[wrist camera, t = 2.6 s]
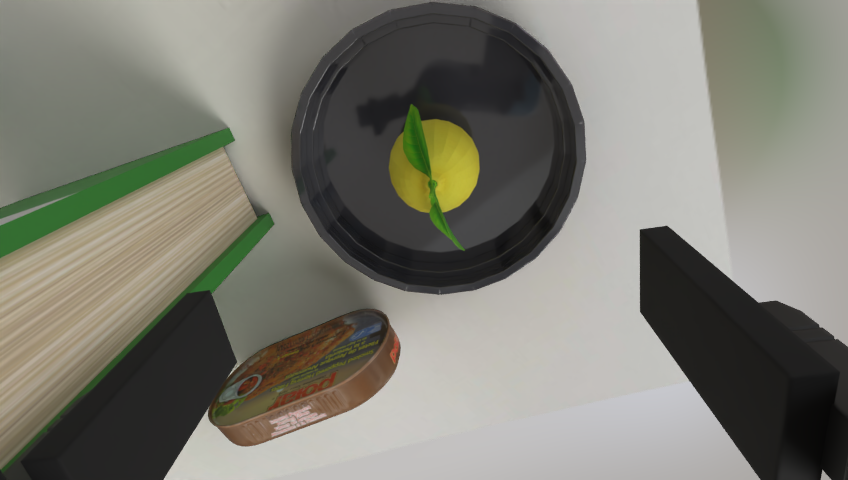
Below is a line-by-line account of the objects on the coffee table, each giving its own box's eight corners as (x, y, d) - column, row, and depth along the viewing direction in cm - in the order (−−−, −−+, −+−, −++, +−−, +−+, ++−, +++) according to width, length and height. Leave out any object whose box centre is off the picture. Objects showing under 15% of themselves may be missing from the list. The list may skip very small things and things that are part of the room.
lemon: (461, 212, 35) (467, 275, 26) (382, 186, 34) (359, 241, 25) (496, 120, 32) (516, 154, 23) (411, 91, 32) (397, 114, 23)
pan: (563, -20, 30) (577, -26, 26) (578, 254, 36) (591, 275, 33) (274, 35, 31) (254, 35, 28) (339, 286, 38) (330, 309, 35)
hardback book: (228, 127, 34) (-183, 303, 12) (274, 224, 36) (9, 518, 14) (17, 201, 36) (-644, 458, 14) (73, 286, 39) (-412, 614, 17)
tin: (392, 294, 38) (379, 361, 30) (410, 326, 39) (401, 398, 32) (232, 359, 41) (183, 435, 33) (252, 387, 42) (209, 466, 35)
